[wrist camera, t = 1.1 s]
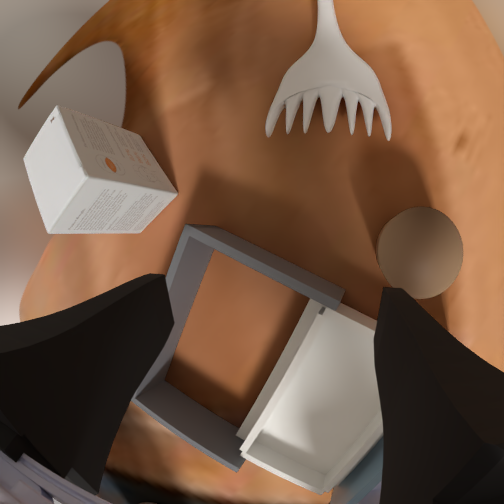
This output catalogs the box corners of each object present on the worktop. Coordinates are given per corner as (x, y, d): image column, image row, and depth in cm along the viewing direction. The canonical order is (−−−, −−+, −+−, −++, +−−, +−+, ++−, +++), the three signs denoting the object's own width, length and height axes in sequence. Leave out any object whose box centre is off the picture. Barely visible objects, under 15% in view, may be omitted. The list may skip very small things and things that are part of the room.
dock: (345, 289, 22) (340, 301, 17) (256, 443, 25) (236, 472, 20) (216, 225, 25) (185, 223, 21) (158, 380, 28) (128, 398, 24)
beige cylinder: (453, 232, 19) (475, 231, 14) (424, 297, 20) (439, 313, 15) (392, 201, 20) (400, 191, 16) (364, 267, 21) (363, 275, 17)
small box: (107, 173, 29) (21, 157, 19) (141, 133, 27) (55, 102, 18) (140, 235, 28) (45, 236, 18) (181, 194, 26) (86, 176, 16)
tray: (450, 343, 19) (469, 369, 14) (341, 486, 22) (332, 524, 17) (320, 278, 22) (308, 289, 17) (236, 435, 25) (211, 466, 20)
